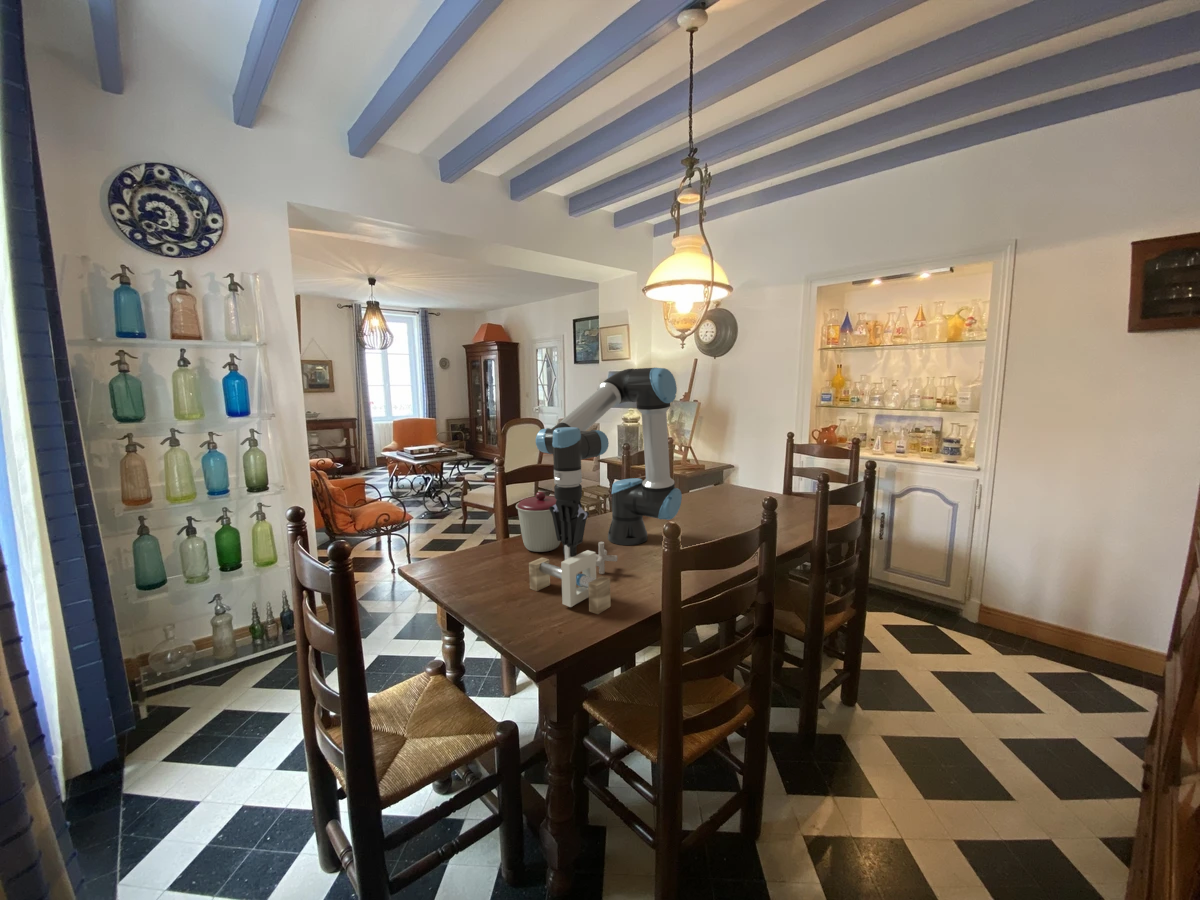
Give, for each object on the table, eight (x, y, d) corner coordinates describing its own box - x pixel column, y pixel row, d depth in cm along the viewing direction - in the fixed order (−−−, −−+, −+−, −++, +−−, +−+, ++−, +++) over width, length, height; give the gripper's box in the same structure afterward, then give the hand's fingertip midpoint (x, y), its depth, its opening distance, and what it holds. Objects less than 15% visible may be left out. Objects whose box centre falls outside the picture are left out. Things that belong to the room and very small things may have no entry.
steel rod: (533, 572, 141) (532, 561, 141) (541, 568, 144) (540, 558, 143) (598, 595, 126) (598, 583, 125) (606, 590, 128) (606, 579, 128)
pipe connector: (614, 580, 146) (614, 549, 144) (582, 578, 148) (582, 547, 146) (619, 567, 156) (619, 538, 154) (590, 565, 158) (589, 536, 156)
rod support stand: (529, 588, 141) (528, 563, 140) (543, 582, 145) (542, 557, 144) (597, 614, 125) (597, 585, 124) (610, 606, 129) (610, 578, 128)
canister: (532, 560, 163) (530, 500, 160) (509, 546, 177) (506, 491, 174) (576, 548, 174) (575, 492, 170) (551, 536, 188) (549, 483, 185)
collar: (562, 604, 129) (561, 562, 127) (588, 589, 138) (587, 550, 136) (570, 607, 127) (569, 564, 125) (596, 592, 136) (595, 552, 134)
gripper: (541, 483, 131) (544, 565, 134) (576, 490, 123) (578, 576, 126) (560, 479, 136) (562, 557, 140) (595, 484, 128) (596, 567, 132)
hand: (570, 566), depth 133 cm, fingers closed
